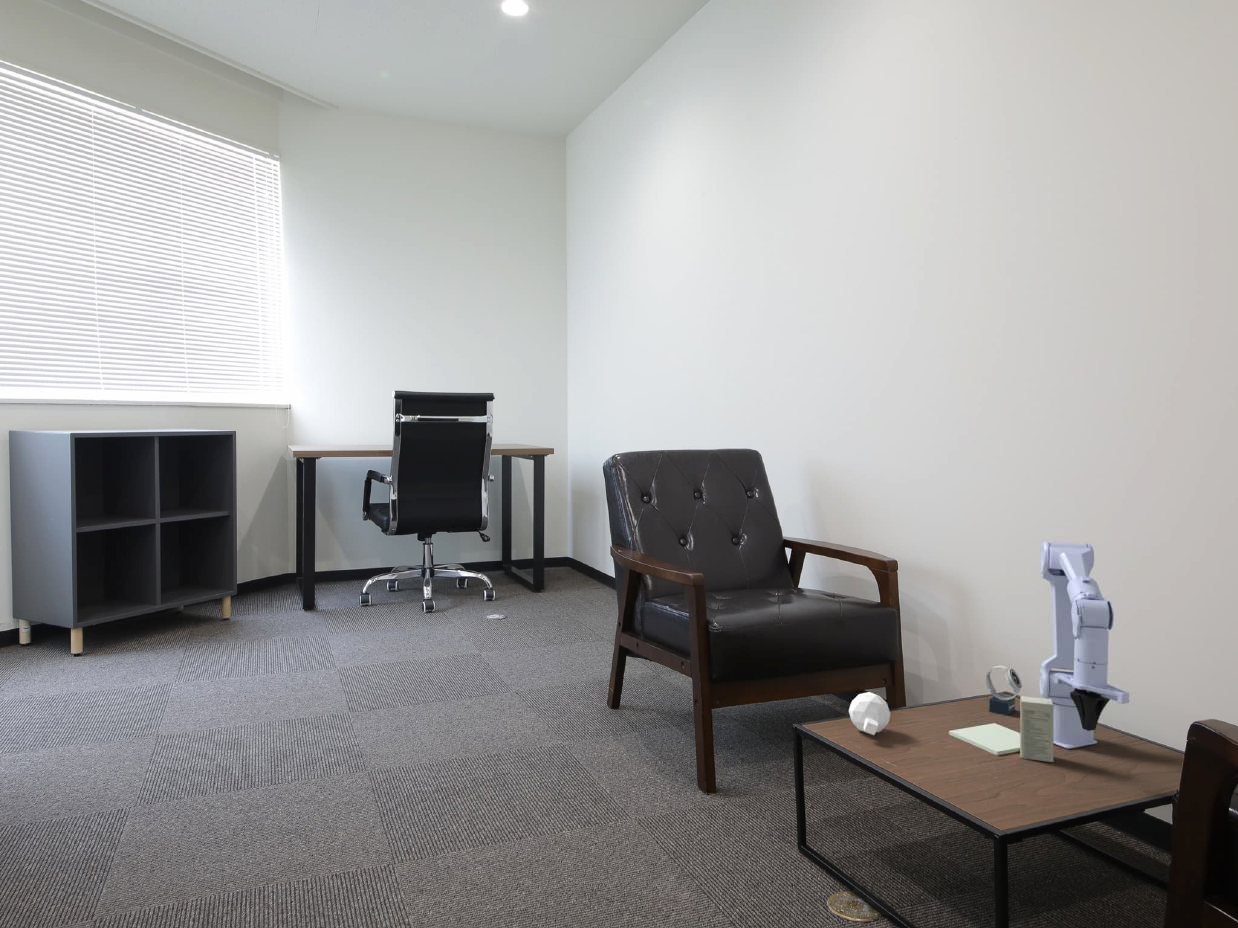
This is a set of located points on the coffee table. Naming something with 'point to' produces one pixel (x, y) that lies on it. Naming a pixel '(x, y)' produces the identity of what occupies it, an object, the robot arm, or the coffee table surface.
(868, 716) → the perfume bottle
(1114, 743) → the coffee table surface
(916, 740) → the coffee table surface
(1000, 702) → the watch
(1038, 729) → the skincare box
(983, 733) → the mat
